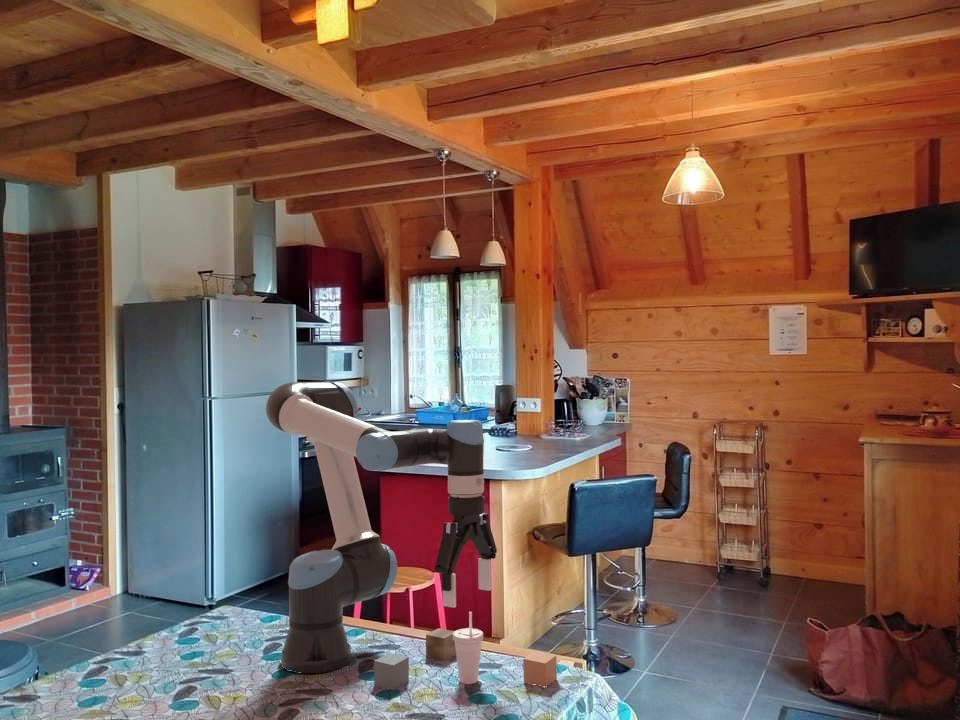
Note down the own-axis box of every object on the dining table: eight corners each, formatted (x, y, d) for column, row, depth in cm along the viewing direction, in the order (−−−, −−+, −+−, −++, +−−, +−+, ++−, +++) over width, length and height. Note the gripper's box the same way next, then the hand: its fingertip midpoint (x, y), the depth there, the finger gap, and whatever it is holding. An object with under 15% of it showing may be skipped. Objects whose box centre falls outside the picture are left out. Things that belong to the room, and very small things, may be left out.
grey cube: (374, 685, 153) (374, 660, 153) (389, 676, 157) (389, 652, 157) (393, 690, 150) (393, 665, 150) (408, 681, 154) (408, 657, 154)
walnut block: (426, 656, 168) (425, 634, 168) (438, 650, 172) (438, 628, 172) (444, 661, 165) (444, 638, 166) (456, 654, 170) (456, 631, 170)
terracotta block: (523, 683, 153) (523, 658, 153) (535, 675, 157) (534, 651, 157) (545, 688, 150) (545, 663, 150) (556, 679, 154) (556, 655, 154)
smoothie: (480, 687, 151) (479, 617, 151) (449, 685, 152) (449, 616, 152) (486, 675, 157) (485, 608, 157) (457, 673, 158) (456, 606, 158)
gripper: (447, 504, 143) (449, 616, 142) (511, 487, 164) (513, 585, 163) (415, 502, 147) (417, 611, 146) (482, 485, 168) (483, 581, 167)
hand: (467, 597), depth 155 cm, fingers open, 13 cm apart
